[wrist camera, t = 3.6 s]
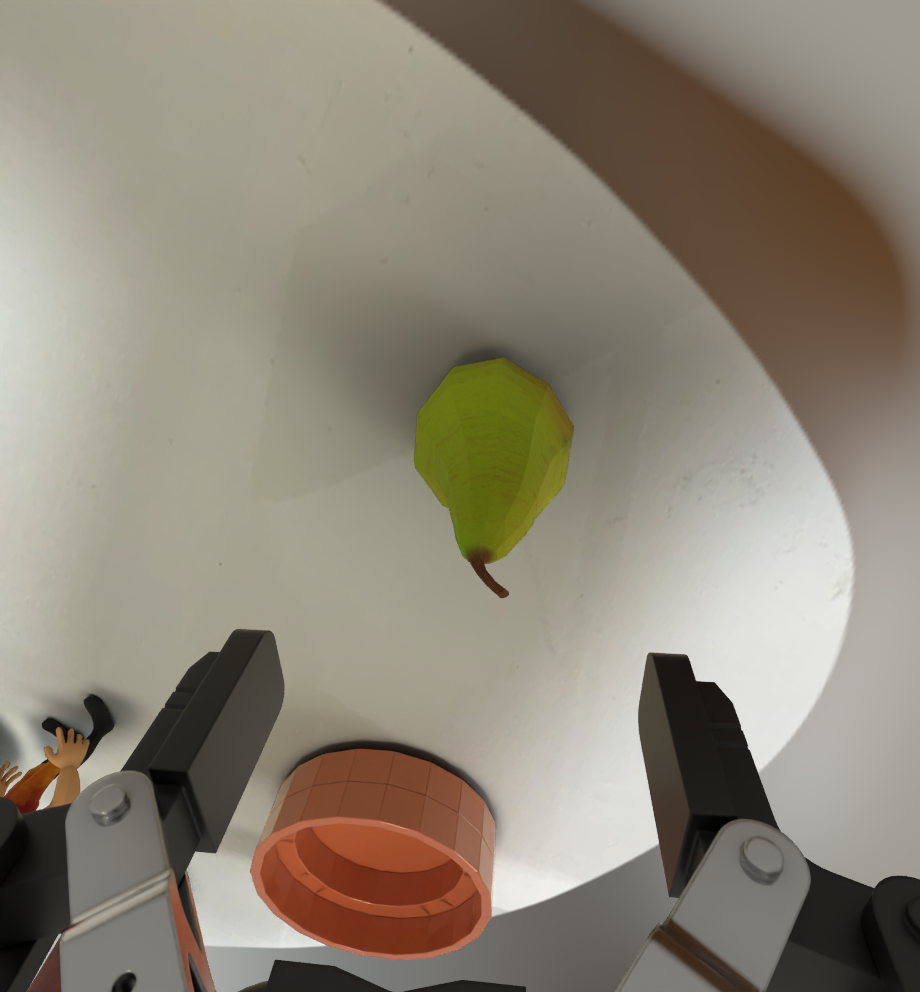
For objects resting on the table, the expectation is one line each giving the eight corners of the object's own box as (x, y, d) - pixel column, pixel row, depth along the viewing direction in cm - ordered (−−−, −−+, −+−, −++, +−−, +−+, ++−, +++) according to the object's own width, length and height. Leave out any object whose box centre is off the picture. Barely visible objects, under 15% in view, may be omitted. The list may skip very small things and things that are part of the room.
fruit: (406, 360, 26) (318, 502, 15) (556, 325, 24) (569, 454, 14) (448, 493, 29) (396, 689, 18) (583, 468, 27) (612, 664, 17)
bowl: (497, 750, 37) (491, 830, 32) (495, 888, 43) (491, 970, 39) (264, 732, 38) (229, 807, 34) (298, 869, 45) (273, 946, 41)
